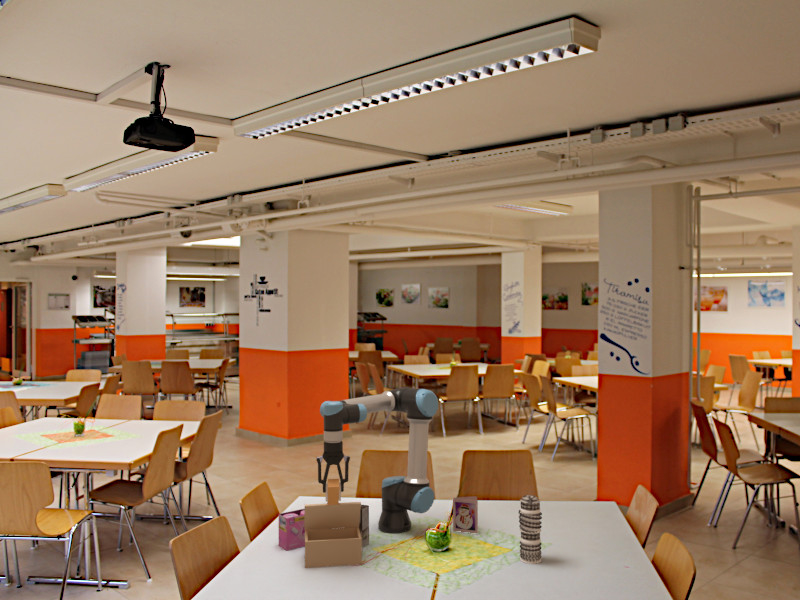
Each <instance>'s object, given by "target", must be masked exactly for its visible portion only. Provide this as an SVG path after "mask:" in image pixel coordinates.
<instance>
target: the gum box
mask: <svg viewBox="0 0 800 600" xmlns="http://www.w3.org/2000/svg"><path fill="white" fill-rule="evenodd" d="M304 520H305V508H300V509H296V510H291V511H287V512H282V513H281V512H280V513H278V547H280V548H281V547H282V549H283V550H285V551H291V550H296V549H299V548H302V547H304V548H305V530H304ZM331 529H333V528H331ZM312 530H314V529H312Z"/></svg>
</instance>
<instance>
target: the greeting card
mask: <svg viewBox="0 0 800 600" xmlns="http://www.w3.org/2000/svg"><path fill="white" fill-rule="evenodd" d="M452 503H453V504H452V507H453V508H452V515H453V517H452V523H453V524H452V526H453V527H452V528H453V532H456V531H461V532H460V533H463V532H470V533H469V534H471V533H478V534H479V526H478V525H479V522H478V521H479V520H478V519H479V516H478V514H479V512H478V509H479V506H478V495H477V496H476V495H475V496H460V497H459V496H457V497H453V498H452Z"/></svg>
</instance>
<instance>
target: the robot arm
mask: <svg viewBox="0 0 800 600" xmlns="http://www.w3.org/2000/svg"><path fill="white" fill-rule="evenodd" d="M438 409H439V399H438V397H437V395H436V394H435V393H434V392H433V390H430V389H426V388H417V387H415V388H414V387H408V386H407V387H400V388H399V387H398V388H394V389H389V390H385V391H383V392H382V393H380V394H373V395H366V396H360V397H355V398H347V399H341V400H325V401H324V402H322V403H321V405H320V408H319V414H320V415H321V417H323V441H324V442H323V453H322V455H321V456H317V457H316V458H315V459H316V463H317V482H318V483H319V484H322V493H324V494H325V502H328V476H329V472H330V468H331V466H336V469H337V472H338V476H339V502H341V501H342V493H343V492H344V490H345V486H344V485H345V483H348V482H349V463H350V461H351V457H350V456H349V455H345V453H344V452H343V451H344V449H343V445H344V444H343V443H344V442H343V441H342V440H343V438H344V437H343V435H344V434H343V430H344V429H343V428H344V427H343V426H344V425H349V424H359V423H362V422H364V421H365V420H366V419H367V417H368V414H371V413H377V412H383V411H384V412H387V413H391V412H398V413H400V412H401V413H403V414H404V413H405V414H406V419H407V421H408V422H409V428H408V429H409V433H408V450H407V451H408V452H407V454H408V455H407V474H406V475H407V476H404V475H397V476H396V475H395V476H388V477H385V478H384V479H382V481H381V513H380V516H379V519H378V521H377V522H378V523H377V525H378V526H377V529H378V530H379V531H381V532H384V533H387V534H402V533H406V532H409V531H410V530H411V529H412V522H411V519H410V516H409V513H408V512H409V511H411V512H413V513H414V514H415V513H417V514H425V513H427V512H428V511H429V510H430V509H431V508H432V506H433V504H434V502H435V492H434V490H433V489H432V487H430V480H429V479H428V478H427V473H428V472H427V471H428V470H427V469H428V446H429V429H430V428H429V425H430V422H431V421H433V417H434V416H435V415H436V414H437V412H438V411H439V410H438ZM323 460H324V461H325V463H326V464H325V470H324V473H323V479H322V462H323ZM342 460H343V461H344V477H343V474H342V468H341V462H342Z"/></svg>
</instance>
